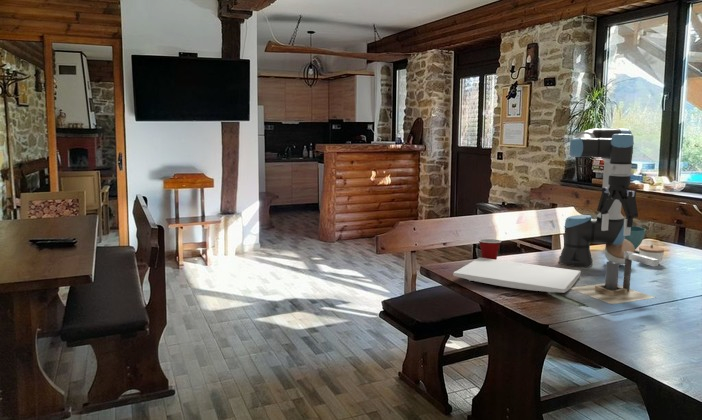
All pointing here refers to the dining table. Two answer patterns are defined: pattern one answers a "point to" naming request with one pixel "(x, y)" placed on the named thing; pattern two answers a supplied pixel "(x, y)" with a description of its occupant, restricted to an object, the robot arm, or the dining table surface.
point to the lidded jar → (652, 252)
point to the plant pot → (636, 236)
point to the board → (519, 275)
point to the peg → (612, 275)
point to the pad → (568, 300)
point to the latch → (641, 258)
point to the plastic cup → (489, 248)
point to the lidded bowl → (618, 251)
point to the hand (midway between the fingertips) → (615, 232)
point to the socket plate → (617, 295)
